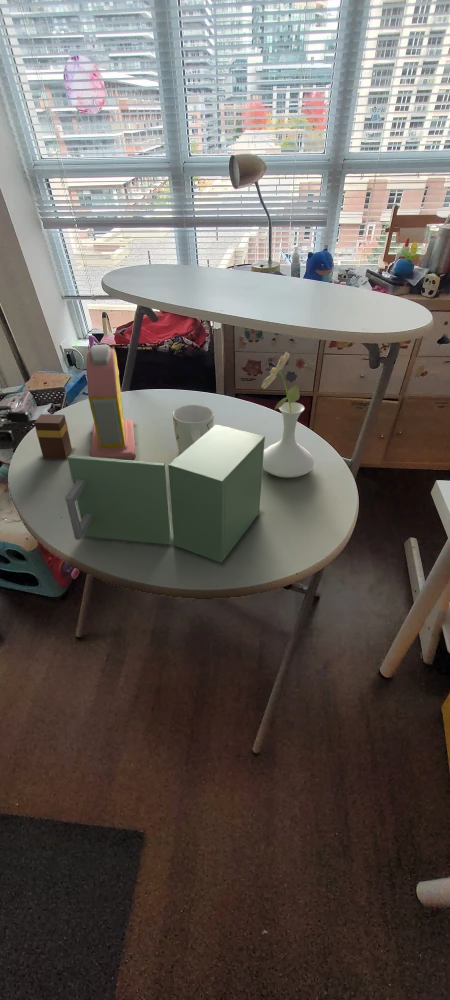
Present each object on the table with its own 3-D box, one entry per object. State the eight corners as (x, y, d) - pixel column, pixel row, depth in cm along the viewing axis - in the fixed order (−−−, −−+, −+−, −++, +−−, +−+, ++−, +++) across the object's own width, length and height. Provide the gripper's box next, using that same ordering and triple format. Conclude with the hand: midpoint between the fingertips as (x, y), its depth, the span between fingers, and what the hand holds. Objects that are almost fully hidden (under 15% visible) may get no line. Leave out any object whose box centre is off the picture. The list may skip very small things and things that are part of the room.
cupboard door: (162, 566, 72) (154, 485, 62) (72, 556, 73) (52, 476, 64) (171, 541, 76) (164, 462, 67) (86, 533, 78) (69, 454, 69)
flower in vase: (283, 448, 102) (293, 335, 87) (324, 468, 95) (342, 349, 81) (241, 469, 95) (245, 350, 80) (282, 493, 88) (294, 367, 73)
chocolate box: (43, 458, 97) (33, 422, 92) (49, 449, 101) (40, 413, 96) (66, 459, 97) (58, 423, 92) (72, 449, 101) (64, 414, 96)
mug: (218, 471, 94) (218, 428, 88) (177, 474, 93) (175, 431, 87) (211, 444, 103) (210, 403, 97) (173, 447, 102) (171, 405, 96)
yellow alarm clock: (94, 422, 111) (79, 332, 98) (133, 419, 113) (122, 330, 100) (91, 470, 94) (71, 368, 81) (136, 466, 95) (124, 366, 83)
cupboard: (173, 545, 76) (167, 464, 67) (216, 499, 87) (216, 424, 77) (221, 563, 73) (222, 481, 63) (259, 513, 83) (265, 436, 74)
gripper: (-83, 423, 88) (1, 425, 87) (-45, 394, 99) (29, 395, 99) (-68, 457, 92) (11, 459, 92) (-34, 425, 103) (37, 426, 103)
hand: (20, 426), depth 95 cm, fingers open, 8 cm apart
